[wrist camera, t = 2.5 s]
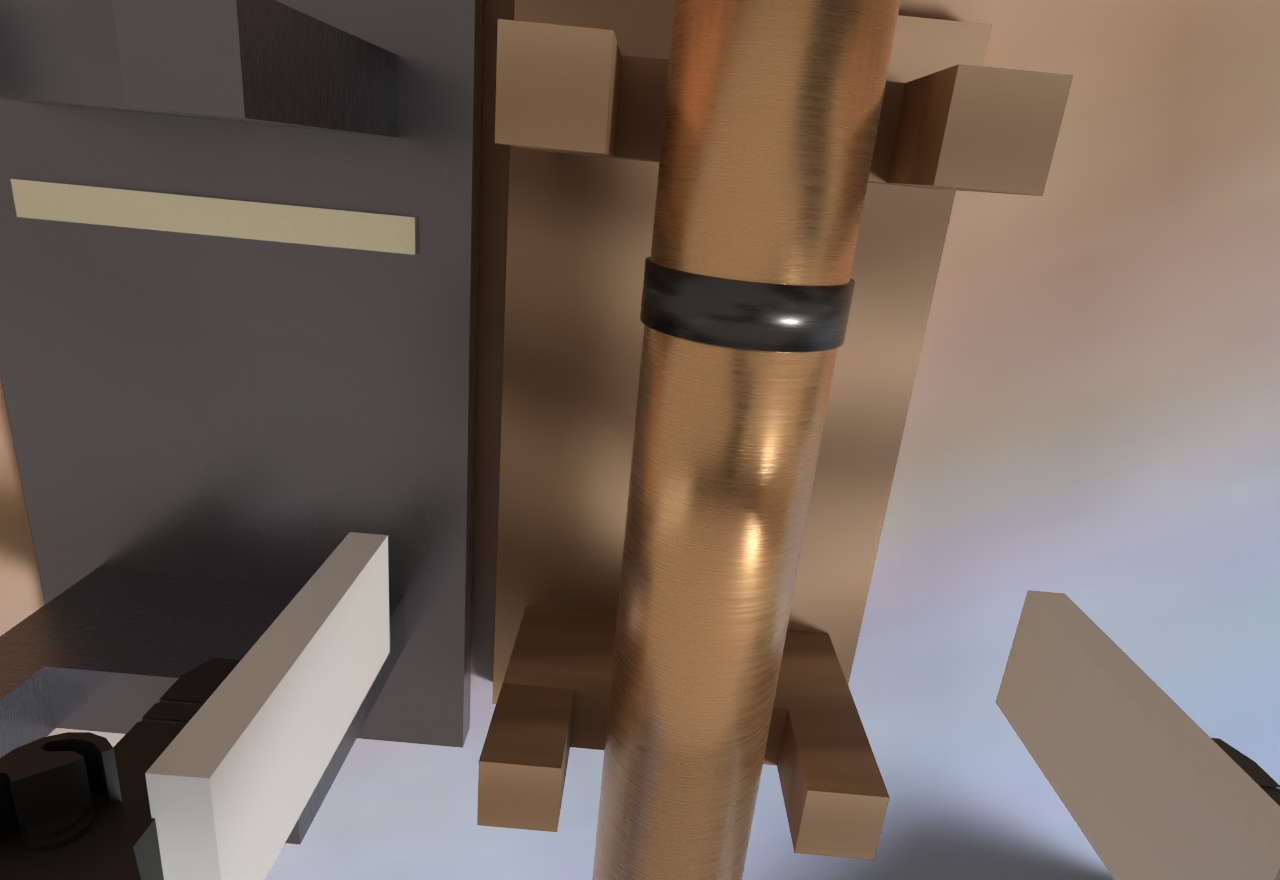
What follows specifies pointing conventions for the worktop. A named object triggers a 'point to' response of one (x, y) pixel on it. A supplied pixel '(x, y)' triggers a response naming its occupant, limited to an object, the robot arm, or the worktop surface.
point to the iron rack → (238, 340)
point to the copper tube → (731, 409)
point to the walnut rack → (610, 368)
